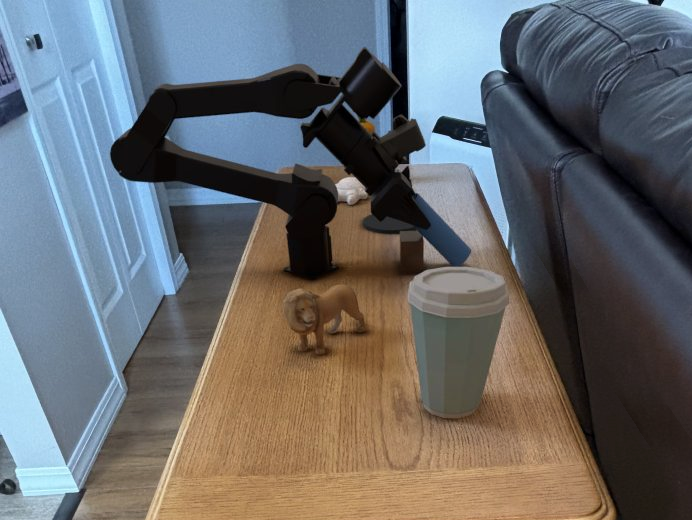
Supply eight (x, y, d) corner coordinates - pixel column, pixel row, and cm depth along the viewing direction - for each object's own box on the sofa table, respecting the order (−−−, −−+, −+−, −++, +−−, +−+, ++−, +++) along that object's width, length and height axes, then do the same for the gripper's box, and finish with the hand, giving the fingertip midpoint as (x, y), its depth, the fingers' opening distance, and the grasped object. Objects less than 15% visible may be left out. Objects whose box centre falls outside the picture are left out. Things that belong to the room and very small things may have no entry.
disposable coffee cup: (397, 388, 87) (395, 261, 78) (483, 377, 89) (492, 252, 79) (419, 435, 79) (420, 300, 70) (514, 422, 81) (527, 289, 72)
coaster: (398, 237, 128) (398, 234, 128) (350, 225, 134) (350, 222, 133) (435, 221, 135) (435, 218, 135) (388, 210, 140) (388, 207, 140)
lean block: (401, 274, 115) (400, 241, 112) (400, 262, 119) (399, 231, 116) (423, 273, 115) (423, 241, 112) (421, 262, 119) (421, 230, 116)
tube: (401, 272, 116) (400, 197, 109) (400, 263, 119) (399, 190, 111) (471, 271, 116) (475, 196, 109) (469, 262, 119) (472, 189, 112)
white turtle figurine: (317, 203, 145) (315, 186, 143) (339, 186, 153) (338, 170, 151) (358, 206, 142) (358, 189, 140) (379, 189, 151) (378, 173, 149)
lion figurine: (313, 370, 91) (306, 299, 85) (278, 360, 93) (269, 291, 87) (374, 325, 101) (372, 259, 95) (342, 317, 103) (337, 252, 97)
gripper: (393, 112, 95) (474, 201, 102) (389, 87, 109) (460, 166, 116) (336, 179, 100) (417, 259, 107) (339, 146, 114) (411, 219, 121)
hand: (428, 223), depth 113 cm, fingers closed on tube, 4 cm apart
